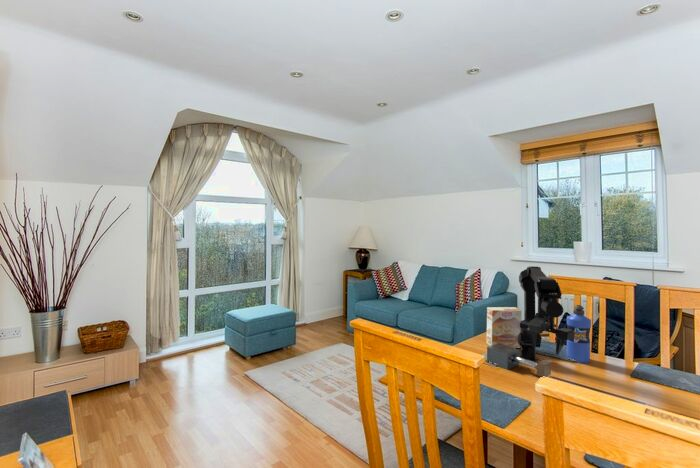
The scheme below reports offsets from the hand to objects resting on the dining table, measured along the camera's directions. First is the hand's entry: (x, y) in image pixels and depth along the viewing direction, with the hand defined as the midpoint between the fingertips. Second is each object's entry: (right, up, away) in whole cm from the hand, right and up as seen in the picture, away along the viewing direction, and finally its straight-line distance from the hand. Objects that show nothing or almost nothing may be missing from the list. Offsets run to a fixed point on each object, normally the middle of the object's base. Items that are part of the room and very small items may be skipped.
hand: (545, 350), depth 136 cm
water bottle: (+28, -12, +24) cm, 39 cm away
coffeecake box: (+2, -12, +41) cm, 43 cm away
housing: (-8, -12, +19) cm, 24 cm away
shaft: (-2, -11, +11) cm, 15 cm away
